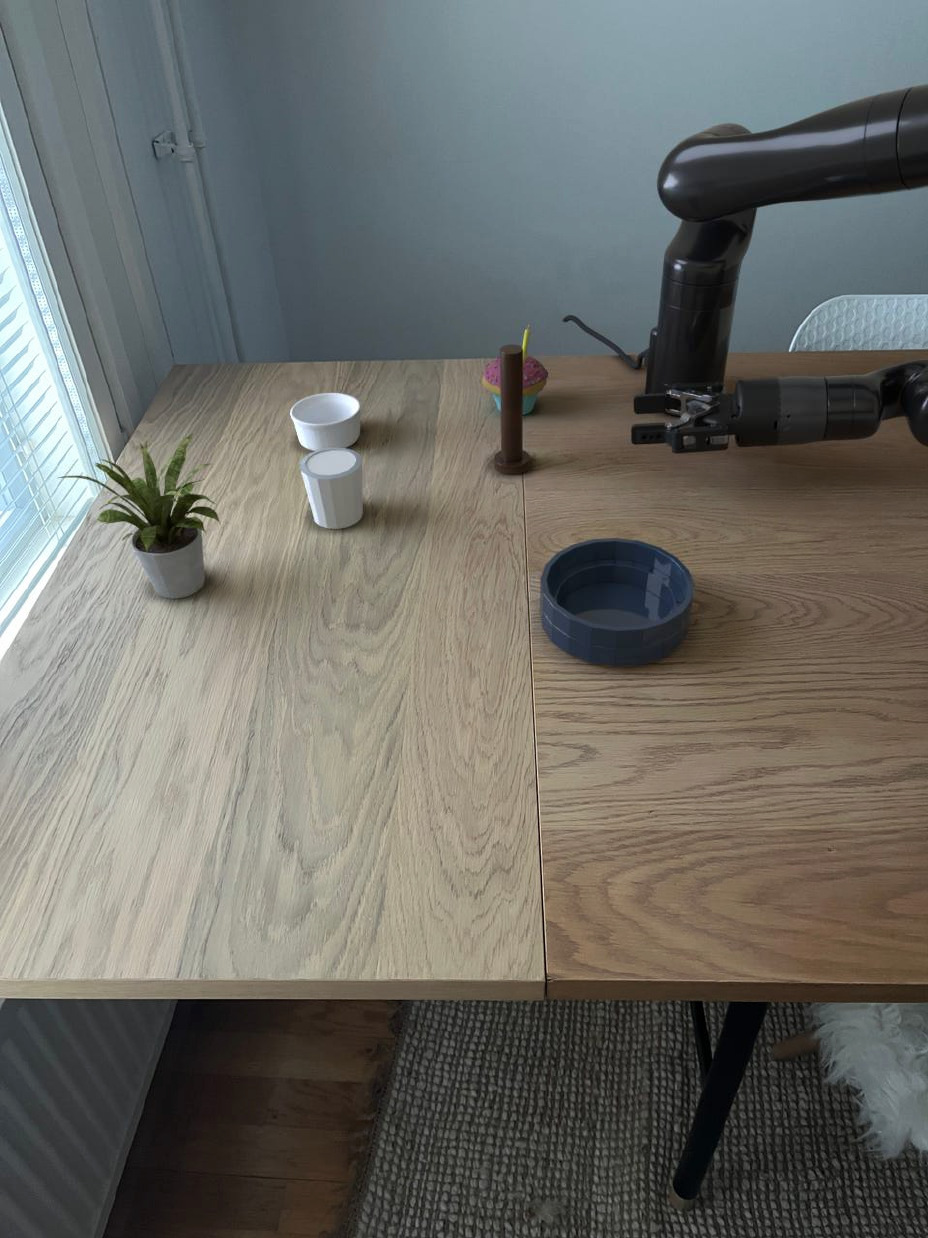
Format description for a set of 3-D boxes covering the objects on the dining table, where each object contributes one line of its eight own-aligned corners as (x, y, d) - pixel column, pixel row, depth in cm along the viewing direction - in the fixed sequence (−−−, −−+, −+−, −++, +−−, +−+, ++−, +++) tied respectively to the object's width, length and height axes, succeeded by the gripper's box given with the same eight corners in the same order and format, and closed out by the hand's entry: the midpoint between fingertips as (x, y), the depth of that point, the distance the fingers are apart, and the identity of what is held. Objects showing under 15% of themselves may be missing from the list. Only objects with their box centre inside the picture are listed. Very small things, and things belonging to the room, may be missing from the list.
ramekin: (282, 449, 121) (277, 418, 118) (316, 417, 127) (311, 387, 124) (344, 460, 118) (340, 429, 115) (375, 427, 124) (372, 397, 122)
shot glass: (377, 503, 110) (371, 450, 106) (353, 536, 105) (346, 482, 101) (324, 495, 112) (316, 442, 108) (297, 526, 107) (288, 473, 103)
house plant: (107, 649, 92) (55, 507, 82) (90, 571, 102) (42, 436, 91) (251, 608, 96) (219, 468, 86) (222, 537, 106) (190, 404, 96)
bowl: (510, 617, 94) (510, 577, 90) (612, 560, 100) (615, 521, 97) (614, 693, 85) (618, 652, 82) (718, 626, 91) (725, 585, 88)
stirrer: (486, 464, 116) (483, 348, 107) (513, 452, 118) (513, 337, 109) (510, 478, 113) (509, 360, 104) (537, 466, 115) (539, 349, 106)
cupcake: (555, 399, 129) (558, 313, 121) (532, 428, 123) (533, 339, 115) (497, 389, 132) (496, 304, 124) (472, 417, 126) (469, 329, 118)
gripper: (775, 356, 110) (633, 365, 113) (788, 404, 98) (629, 413, 102) (772, 417, 114) (635, 424, 117) (783, 470, 102) (631, 476, 106)
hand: (632, 419), depth 109 cm, fingers open, 8 cm apart
